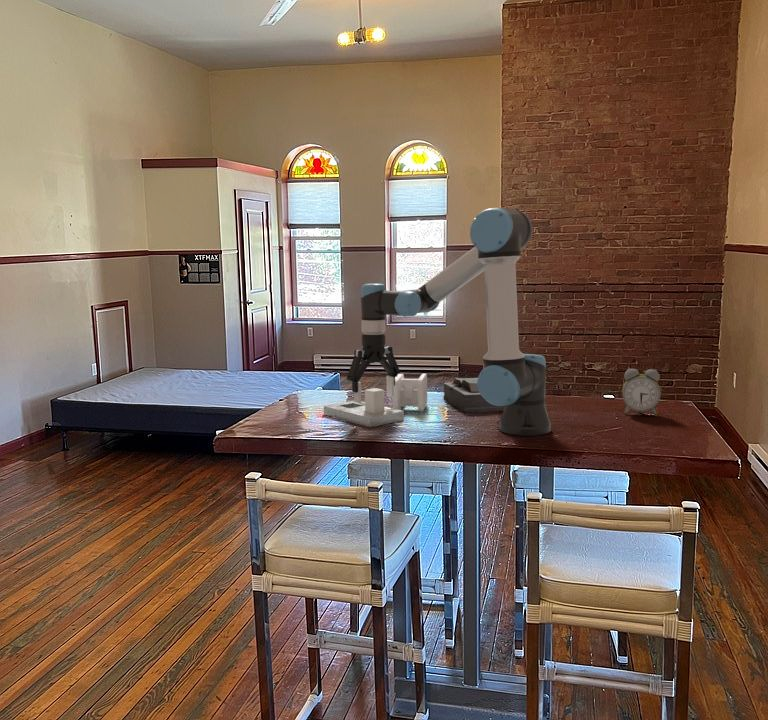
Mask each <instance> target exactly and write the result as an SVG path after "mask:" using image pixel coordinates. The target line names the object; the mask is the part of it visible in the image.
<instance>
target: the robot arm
mask: <svg viewBox="0 0 768 720" xmlns="http://www.w3.org/2000/svg"><path fill="white" fill-rule="evenodd" d="M533 231H534V230H533V223H532V220H531V219H530V217H529V216H528V215H527V214H526V213H525V212H524V211H521V210H519V209H515V208H514V209H513V208H511V209H509V208H503V207H491V208H487V209H484V210H482V211H480V212H479V213H478V214H477V215H476V216H475V218H473V221H472V222H471V224H470V229H469V238H470V241H471V243H472V245H473V246H474V247H472V248H471V249H469V250H468V251H467V252H465V253H464V254H463V255H461V256H460V257H459V258H457V259H456V260H455V261H453V262H452V263H451V264H449V265H448V266H446V267H445V268H444V269H442V271H440V272H439V273H437V274H436V275H434V276H433V277H432V278H430V279H429V280H427V282H426V283H424V284H423V285H422V286H420V287H418V288H417V289H406V290H387V289H386V286H385V284H383V283H365V284H362V286H361V290H360V293H361V294H360V307H361V332H362V334H361V345H362V350H361V349H355V350H354V352H353V353H354V354H353V359H352V361H351V365H350V368H349V370H348V373H347V376H346V380H347V381H350V382H351V388H352V393H353V401H354V402H357V403H361V401H362V381H360V380H361V378H362V377H363V375H364V373H365V371H366V370H367V368H368V367H369V366H370V364H374V363H379V364H380V365H381V367H382V368H383V369H384V371H385V372H386V374H387V375H386V377H385V378H386V396H387V397H389V398H392V397H394V386H395V377H397V375H398V374H401V370H400V368H399V365H398V363H397V360H396V357H395V356H394V350H393V347H392V346H390V345H388V346H387V345H386V334H385V332H386V316H398V317H405V318H406V317H415V316H416V315H417V314H422V313H429V312H431V311H435V310H436V309H437V308H438V307H439V305H440V303H441V302H443V301H444V300H445V299H446V298H448V297H449V296H451V295H452V294H454V293H455V292H456V291H457V290H459V289H461V288H462V287H464V286H465V285H466V284H468V283H470V282H471V281H472V280H473V279H474V278H476V277H478V276H479V275H480V274H482V273H484V288H485V289H484V291H485V313H486V314H485V315H486V336H487V337H486V338H487V352H486V353H485V354H484V355H483V357H482V365H483V367H482V368H483V369H482V370H481V371H480V373H479V374H478V377H477V378H478V380H477V386H478V390H479V392H480V394H481V396H482V397H483V398H484V399H485V400H486V401H487V402H489V403H490V404H492V405H496V406H504V405H505V407H504V410H503V411H502V413H501V416H500V419H499V422H498V429H499V431H500V432H502V433H504V434H507V435H514V436H525V437H526V436H527V437H528V436H529V437H530V436H531V437H532V436H541V435H546V434H548V433H550V432H551V431H552V430H551V428H552V427H551V420H550V418H549V415H548V410H547V408H546V383H547V382H546V379H547V378H546V375H547V373H546V372H547V365H546V363H547V362H546V358H545V356H544V355H541V354H532V353H531V354H530V353H523V352H522V351H521V350H520V344H519V342H520V340H519V337H520V336H519V315H518V314H519V313H518V293H517V291H518V290H517V269H516V268H517V267H516V263H517V262H518V261H519V259H520V258H522V256H521V255H522V253H521V250H522V249H524V248H525V247H526V246H527V245H528V244H529V242H530V241H531V239H532V238H533ZM385 345H386V346H385Z"/></svg>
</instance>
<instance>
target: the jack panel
mask: <svg viewBox="0 0 768 720" xmlns="http://www.w3.org/2000/svg"><path fill="white" fill-rule="evenodd" d="M384 408H385V412H382V413H377V414H371V413H367V412H365V401H362V400H361V403H357V402H354V400H350V401H344V402H338V403H333V404H329V405H323V415H324V416H326V415H327V416H326V417H330V416H331V417H330V418H334V417H335V418H334V419H337V418H338V420H341V419H342V421H344V422H348V423H353V424H356V425H361V426H363V427H368V428H373V427H378V426H382V425H388V424H393V423H396V422H400V421H404V420H405V415H404V414H405V411H404V410H401V409H400V410H398V409H394V408H393V407H389V406H385V405H384Z"/></svg>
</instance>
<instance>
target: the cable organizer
mask: <svg viewBox="0 0 768 720" xmlns="http://www.w3.org/2000/svg"><path fill="white" fill-rule="evenodd" d="M391 398H392V408H394V409H398V410H401V409H402V407H404V409H406V407H409V406H410V407H413V408H417V411H418V412H420V413H423V412H424V410H425V409H426V406H427V404H428V375H427V373H421V375H420V376H419V377H418V378H405V375H404V373H399V374H398V375H397V377H395V386H394V397H391Z"/></svg>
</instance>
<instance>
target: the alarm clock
mask: <svg viewBox="0 0 768 720" xmlns="http://www.w3.org/2000/svg"><path fill="white" fill-rule="evenodd" d="M623 378H624V380H625V382H624V383H623V386H622V389H621V396H622V400H623V402H624V403H625V405H626V408H625V410H624V412H623V414H624V413H627V414H628V413H629V412H630V411H631V410H633V411H636V412H639V411H640V412H639V413H642V412H648V411H651V413H652V414H653V415H654V417H657V416H658V413H657V410H656V408H655V407H656V406H657V405H658V404H659V402H660V400H661V395H662V392H661V388H660V385H659V383H658V382H659V380H660V378H661V377H660V373H659V372H658V370H657V369H653V368H651V369H649V368H648V369H646V370H643V373H640V372H639V370H638V369H637V368H627V370H626V371H625V372H624V376H623Z"/></svg>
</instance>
